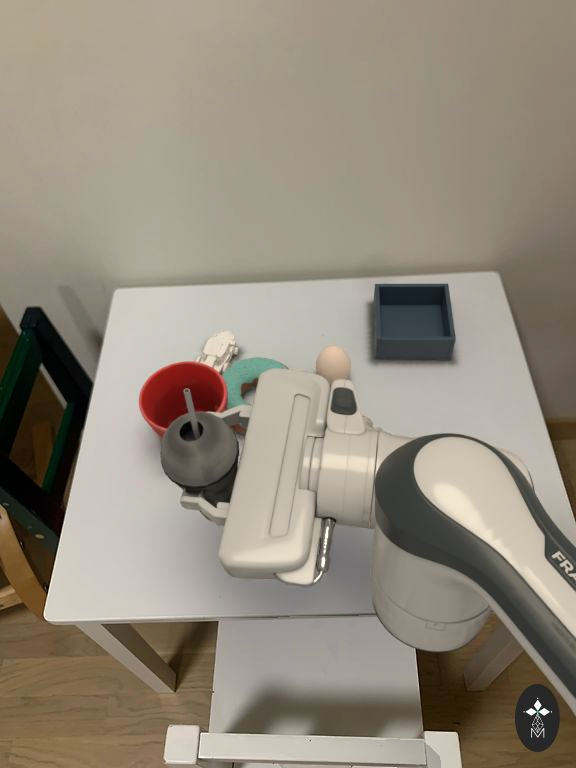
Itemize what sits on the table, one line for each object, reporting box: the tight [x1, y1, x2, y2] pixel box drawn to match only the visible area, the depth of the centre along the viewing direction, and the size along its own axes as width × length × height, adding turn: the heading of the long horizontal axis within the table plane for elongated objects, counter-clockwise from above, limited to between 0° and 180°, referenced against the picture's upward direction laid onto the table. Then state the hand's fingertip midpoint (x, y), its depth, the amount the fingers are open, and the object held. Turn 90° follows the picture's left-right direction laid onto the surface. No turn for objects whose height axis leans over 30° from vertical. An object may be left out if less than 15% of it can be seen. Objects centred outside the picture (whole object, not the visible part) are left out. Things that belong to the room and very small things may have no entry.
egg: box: [315, 344, 352, 386], centre depth 81 cm, size 5×5×7 cm
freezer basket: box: [372, 283, 457, 361], centre depth 86 cm, size 11×11×5 cm
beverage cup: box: [160, 389, 240, 523], centre depth 56 cm, size 7×7×20 cm
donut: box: [215, 356, 290, 435], centre depth 81 cm, size 12×12×4 cm
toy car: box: [195, 330, 239, 375], centre depth 86 cm, size 5×8×4 cm, turn 162°
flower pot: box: [138, 360, 228, 440], centre depth 76 cm, size 11×11×10 cm
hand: (194, 457), depth 56 cm, fingers closed on beverage cup, 6 cm apart
